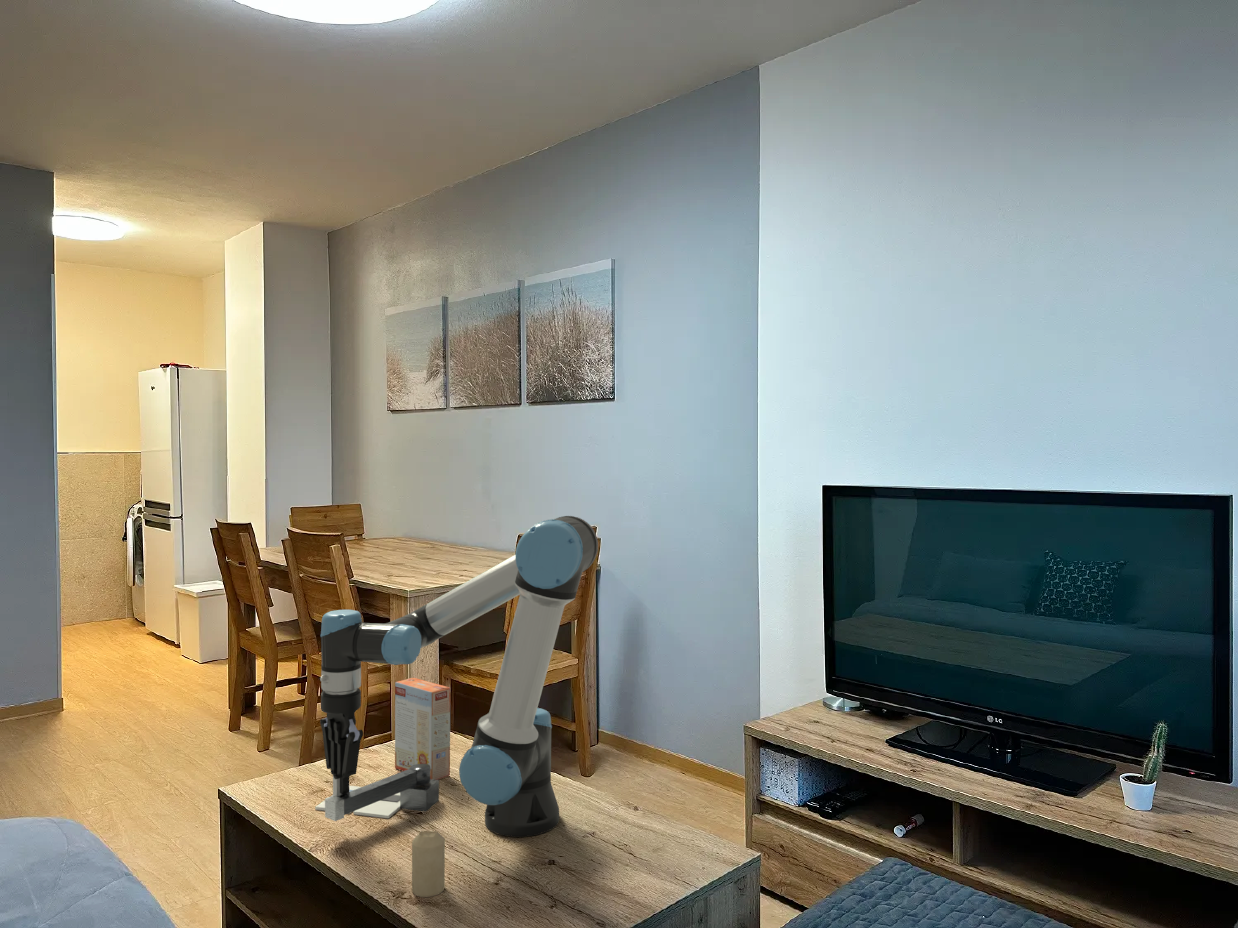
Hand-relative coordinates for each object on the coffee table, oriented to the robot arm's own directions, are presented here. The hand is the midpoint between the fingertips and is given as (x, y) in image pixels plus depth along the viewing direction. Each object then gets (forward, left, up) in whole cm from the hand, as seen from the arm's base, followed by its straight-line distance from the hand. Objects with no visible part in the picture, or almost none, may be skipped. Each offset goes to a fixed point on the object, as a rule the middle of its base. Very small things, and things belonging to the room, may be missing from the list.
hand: (341, 807), depth 174 cm
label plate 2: (-2, -14, -5) cm, 15 cm away
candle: (-27, +16, -5) cm, 32 cm away
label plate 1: (+7, -14, -5) cm, 17 cm away
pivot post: (-9, -16, -5) cm, 19 cm away
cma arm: (-5, -7, 0) cm, 8 cm away
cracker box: (-1, -33, -5) cm, 34 cm away
